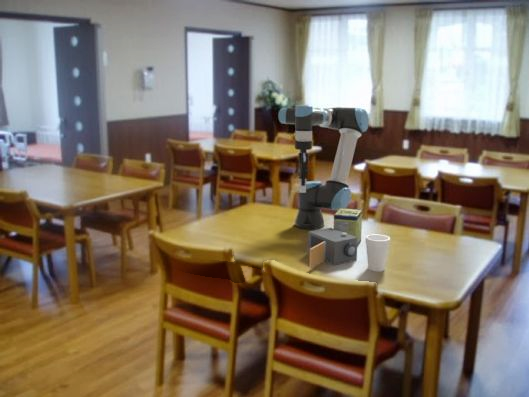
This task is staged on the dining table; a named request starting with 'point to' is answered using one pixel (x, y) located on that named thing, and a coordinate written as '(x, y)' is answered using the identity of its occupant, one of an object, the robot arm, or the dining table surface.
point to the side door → (317, 254)
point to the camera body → (334, 245)
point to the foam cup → (377, 251)
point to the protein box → (349, 222)
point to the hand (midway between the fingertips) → (302, 192)
